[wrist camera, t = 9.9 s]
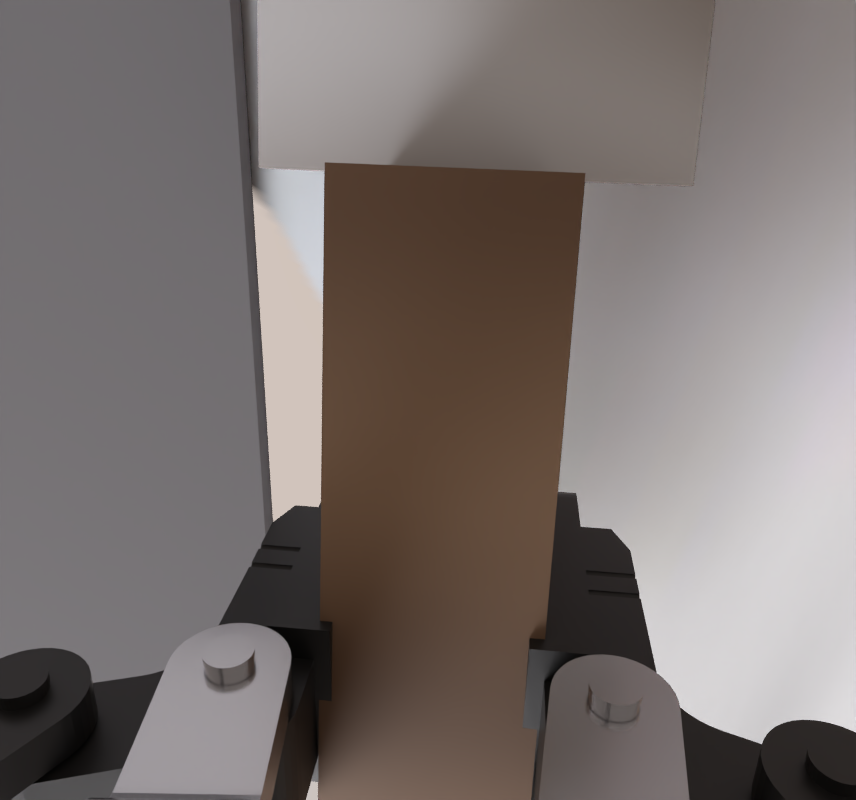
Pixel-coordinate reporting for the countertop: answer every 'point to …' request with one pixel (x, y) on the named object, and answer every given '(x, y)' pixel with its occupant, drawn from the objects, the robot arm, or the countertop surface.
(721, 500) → the countertop surface
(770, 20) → the countertop surface
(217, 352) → the mat
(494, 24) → the turner
